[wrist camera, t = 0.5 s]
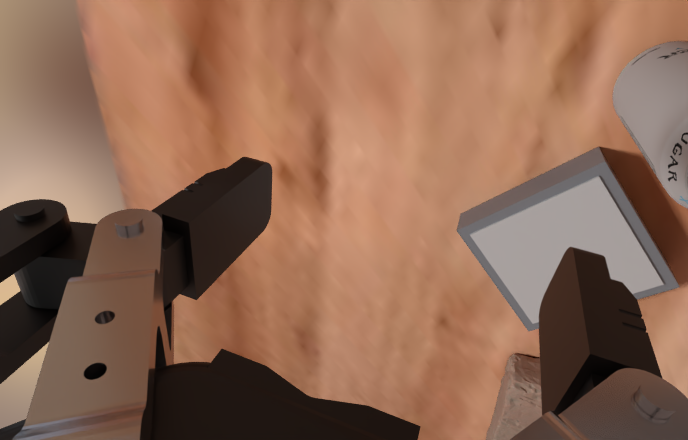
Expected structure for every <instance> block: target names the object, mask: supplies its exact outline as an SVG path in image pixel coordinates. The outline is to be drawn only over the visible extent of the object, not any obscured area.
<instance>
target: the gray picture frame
mask: <svg viewBox="0 0 688 440" xmlns="http://www.w3.org/2000/svg"><path fill="white" fill-rule="evenodd" d="M457 232H458V233H459V235H460V236H461V237H462V239H463V240H464V242H465V243H466V244H467V246H468V247H469V249H470V250H471V251H472V253H473V254H474V256H475V257H476V258H477V260H478V261H479V263H480V264H481V265H482V267H483V268H484V270H485V271H486V272H487V274H488V275H489V277H490V278H491V279H492V281H493V282H494V284H495V285H496V286H497V288H498V289H499V291H500V292H501V293H502V295H503V296H504V298H505V299H506V300H507V302H508V303H509V304H510V306H511V307H512V309H513V310H514V311H515V313H516V314H517V316H518V317H519V318H520V320H521V321H522V323H523V324H524V325H525V327H526V328H527V330H528V331H532V330H535V329H538V328H539V310H540V306H541V302H542V299H543V296H544V294H545V292H546V290H547V288H548V286H549V283H550V281H551V279H552V277H553V275H554V273H555V271H556V269H557V267H558V265H559V263H560V261H561V259H562V257H563V255H564V253H565V251H566V250H567V249H568V248H569V247H574V248H578V249H582V250H585V251H589V252H593V253H596V254H600V255H603V256H604V257H605V259H606V263H607V266H608V270H609V274H610V278H611V279H613V280H616V281H620V282H623V284H624V285H625V286H626V287H627V288H628V289H629V291H630V292H631V293H632V294H633V295H634V297H635V298H636V299H641V298H644V297H648V296H651V295H654V294H658V293H661V292H665V291H668V290H672V289H675V288H678V287H679V285H678V283H677V281H676V278H675V276H674V274H673V272H672V270H671V268H670V266H669V264H668V263H667V261H666V259H665V258H664V256H663V254H662V253H661V251H660V249H659V247H658V246H657V244H656V242H655V241H654V239H653V237H652V236H651V234H650V232H649V231H648V229H647V227H646V225H645V224H644V222H643V220H642V219H641V217H640V215H639V214H638V212H637V210H636V209H635V207H634V205H633V203H632V202H631V200H630V198H629V197H628V195H627V193H626V192H625V190H624V188H623V187H622V185H621V183H620V181H619V180H618V178H617V176H616V175H615V173H614V171H613V170H612V168H611V166H610V165H609V163H608V161H607V159H606V158H605V156H604V154H603V153H602V151H601V149H600V148H599V147H597V148H595V149H593V150H591V151H589V152H587V153H585V154H582V155H580V156H578V157H576V158H574V159H572V160H570V161H568V162H566V163H564V164H562V165H560V166H558V167H556V168H554V169H552V170H550V171H548V172H546V173H544V174H542V175H539V176H537V177H535V178H533V179H531V180H529V181H527V182H525V183H523V184H521V185H519V186H517V187H515V188H513V189H511V190H509V191H507V192H505V193H503V194H501V195H498V196H496V197H494V198H492V199H490V200H488V201H486V202H484V203H482V204H480V205H478V206H476V207H474V208H472V209H470V210H468V211H466V212H464V213H462V214H460V218H459V223H458V227H457Z"/></svg>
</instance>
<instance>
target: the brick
mask: <svg viewBox="0 0 688 440" xmlns="http://www.w3.org/2000/svg"><path fill="white" fill-rule="evenodd" d="M541 416H542V400H541V371H540V358H532V357H527V356H524V355H520V354H513V355H512V356H510V357H509V360H507V365H506V368H505V376H503V378H502V380H501V387H500V390H499V394H498V397H497V402H496V406H495V410H494V414H493V417H492V421H491V424H490V427H489V429H488V431H487V436H486V440H510V439H511V438H512V437H514V436H515V435H517V434H518V433H519V432H521V431H522V430H523V429H525V428H526V427H527V426H529V425H530V424H531V423H533V422H534V421H536V420H537V419H538V418H540V417H541Z"/></svg>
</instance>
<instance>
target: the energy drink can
mask: <svg viewBox="0 0 688 440" xmlns="http://www.w3.org/2000/svg"><path fill="white" fill-rule="evenodd" d="M613 105H614V108H615V111H616V113H617V115H618V116H619V118H620V120H621V121H622V123H623V124H624V126H625V127H626V129H627V131H628V132H629V134H630V135H631V137H632V138H633V140H634V142H635V143H636V145H637V146H638V148H639V149H640V151H641V152H642V154H643V156H644V157H645V159H646V160H647V162H648V163H649V165H650V167H651V168H652V170H653V171H654V173H655V174H656V176H657V178H658V179H659V181H660V182H661V184H662V185H663V187H664V188H665V190H666V191H667V193H668V194H669V196H670V197H672V198H673V199H674V200H675V201H676V202H677V203H678V204H680V205H682V206H684V207H685V208H687V209H688V42H686V41H674V42H667V43H663V44H659V45H656V46H654V47H652V48H649V49H647V50H645V51H644V52H642V53H641V54H639V55H637V56H636V57H635V58H634V59H633V60H632V61H630V62H629V63H628V64H627V65H626V67H625V68H624V69H623V70H622V72H621V73H620V75H619V77H618V79H617V81H616V83H615V86H614V90H613Z"/></svg>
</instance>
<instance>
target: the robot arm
mask: <svg viewBox="0 0 688 440" xmlns="http://www.w3.org/2000/svg"><path fill="white" fill-rule="evenodd" d="M271 199H272V167H271V165H270V164H269V163H267V162H263V161H259V160H256V159H252V158H248V157H242V158H241V159H239V160H238V161H236V162H235V163H234V164H232V165H231V166H229V167H228V168H226V169H225V168H223V169H219V170H216V171H213V172H210V173H207V174H205V175H204V176H202V177H201V178H199V179H198V180H196V181H195V183H194V184H193V183H192V184H190V185H189V186H187V187H186V188H185V190H182V191H180V192H179V193H177V194H176V195H174V196H173V197H171V198H170V199H168V200H167V201H165V202H164V203H162V204H161V205H159V206H158V207H156V208H155V209H153V210H152V211H149V210H144V209H127V210H121V211H118V212H114V213H112V214H109V215H107V216H105V217H104V218H102V219H101V220H100V221H99V222H98V224H91V223H80V222H70V221H69V218H68V214H67V210H66V208H65V206H64V205H63V204H61V203H60V202H57V201H53V200H45V199H39V200H29V201H24V202H20V203H16V204H14V205H11V206H9V207H7V208H5V209H3V210H1V211H0V283H1V282H2V281H4V280H5V279H7V278H8V277H10V276H11V275H13V274H14V275H15V277H16V280H17V282H18V285H19V287H20V290H21V291H20V292H18V293H17V294H16V295H14V296H13V297H11V298H10V299H9V300H7V301H6V302H4V303H3V304H2V305H0V384H1V383H2V382H3V381H4V380H6V379H7V378H8V377H9V376H10V375H11V374H12V373H14V372H15V371H16V370H17V369H18V368H19V367H20V366H22V365H23V364H24V363H25V362H26V361H27V360H29V359H30V358H31V357H32V356H33V355H34V354H35V353H37V352H38V351H39V350H40V349H41V348H42V347H43V346H45V345H46V344H47V343H48V342H49V345H48V348H47V351H46V355H45V358H44V361H43V365H42V368H41V371H40V375H39V378H38V381H37V385H36V388H35V392H34V395H33V398H32V402H31V405H30V408H29V412H28V415H27V418H26V419H25V420H22V421H20V422H17V423H15V424H12V425H10V426H7V427H4V428H2V429H0V440H417V439H418V435H419V431H420V426H418V425H415V424H413V423H410V422H408V421H405V420H403V419H400V418H398V417H395V416H392V415H390V414H387V413H385V412H382V411H380V410H377V409H375V408H372V407H370V406H366V405H359V404H352V403H345V402H339V401H332V400H325V399H318V398H313V397H310V396H308V395H306V394H304V393H303V392H302V391H300V390H299V389H298V388H296V387H295V386H293V385H292V384H291V383H289V382H288V381H286V380H285V379H284V378H282V377H281V376H280V375H278V374H277V373H275V372H274V371H273V370H271V369H270V368H268V367H267V366H265V365H262V364H260V363H257V362H255V361H252V360H249V359H247V358H244V357H242V356H239V355H237V354H234V353H232V352H229V351H227V350H224V349H221V350H220V352H219V353H218V354H217V356H216V357H215V358H214V359H213V361H212V362H211V363H209V362H187V363H178V364H174V304H173V300H174V299H175V298H176V297H177V296H178V295H179V294H182V295H184V296H187V297H190V298H192V299H195V300H197V299H198V298H199V297H200V296H201V295H202V294H203V293H204V292H205V291H206V290H207V289H208V288H209V287H210V286H211V285H212V284H213V283H214V282H215V280H216V279H217V278H218V277H219V276H220V275H221V274H222V273H223V272H224V271H225V270H226V269H227V268H228V267H229V266H230V265H231V264H232V263H233V262H234V261H235V260H236V259H237V258H238V257H239V256H240V255H241V254H242V253H243V252H244V250H245V249H246V248H247V247H248V246H249V245H250V244H251V243H252V242H253V241H254V240H255V239H256V238H257V237H258V236H259V235H260V234H261V233H262V232H263V231H264V229H265V228H266V226H267V224H268V222H269V219H270V215H271ZM641 317H642V314H641V311H640V308H639V305H638V302H637V299H636V298H635V297H634V295H633V294H632V293H631V292H630V291H629V289H628V288H627V287H626V286H625V285H624V284H623V282H620V281H616V280H613V279H611V278H610V274H609V270H608V266H607V263H606V259H605V257H604V256H603V255H600V254H596V253H593V252H589V251H585V250H582V249H578V248H574V247H569V248H568V249H567V250H566V251H565V253H564V255H563V257H562V259H561V261H560V263H559V265H558V267H557V269H556V271H555V273H554V275H553V277H552V279H551V281H550V283H549V286H548V288H547V290H546V292H545V294H544V296H543V299H542V302H541V306H540V310H539V342H540V371H541V400H542V416H541V417H540V418H538V419H537V420H536V421H534V422H533V423H531V424H530V425H529V426H527V427H526V428H525V429H523V430H522V431H521V432H519V433H518V434H517V435H515V436H514V437H512V438H511V439H510V440H688V399H687V398H686V396H685V395H683V394H682V393H681V392H680V391H679V390H678V389H677V388H675V387H674V386H673V385H672V384H670V383H669V382H667V381H666V380H664V379H662V376H661V373H660V370H659V366H658V363H657V360H656V357H655V354H654V351H653V348H652V345H651V342H650V339H649V336H648V333H646V326H645V323H644V320H643V319H642V318H641Z"/></svg>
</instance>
